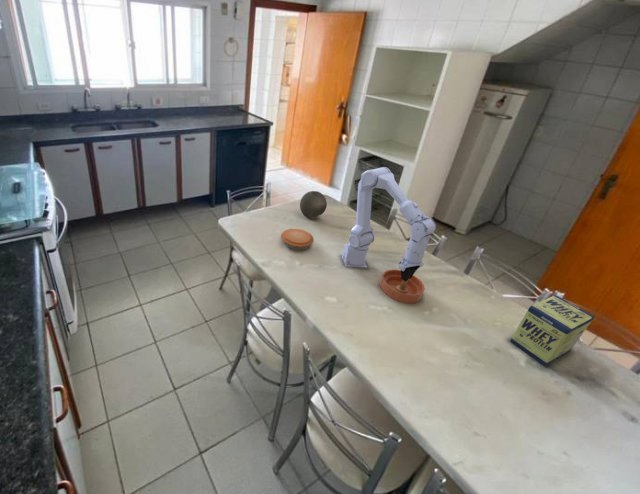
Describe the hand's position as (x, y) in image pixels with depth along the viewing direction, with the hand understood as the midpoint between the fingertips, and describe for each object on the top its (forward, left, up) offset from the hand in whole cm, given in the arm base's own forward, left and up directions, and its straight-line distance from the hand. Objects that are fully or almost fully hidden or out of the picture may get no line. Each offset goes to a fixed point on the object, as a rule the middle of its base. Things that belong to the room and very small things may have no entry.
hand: (405, 278), depth 125 cm
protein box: (+37, -21, -8) cm, 44 cm away
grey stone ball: (-27, +59, -8) cm, 65 cm away
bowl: (0, +2, -7) cm, 8 cm away
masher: (0, 0, -6) cm, 6 cm away
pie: (-38, +31, -8) cm, 49 cm away
